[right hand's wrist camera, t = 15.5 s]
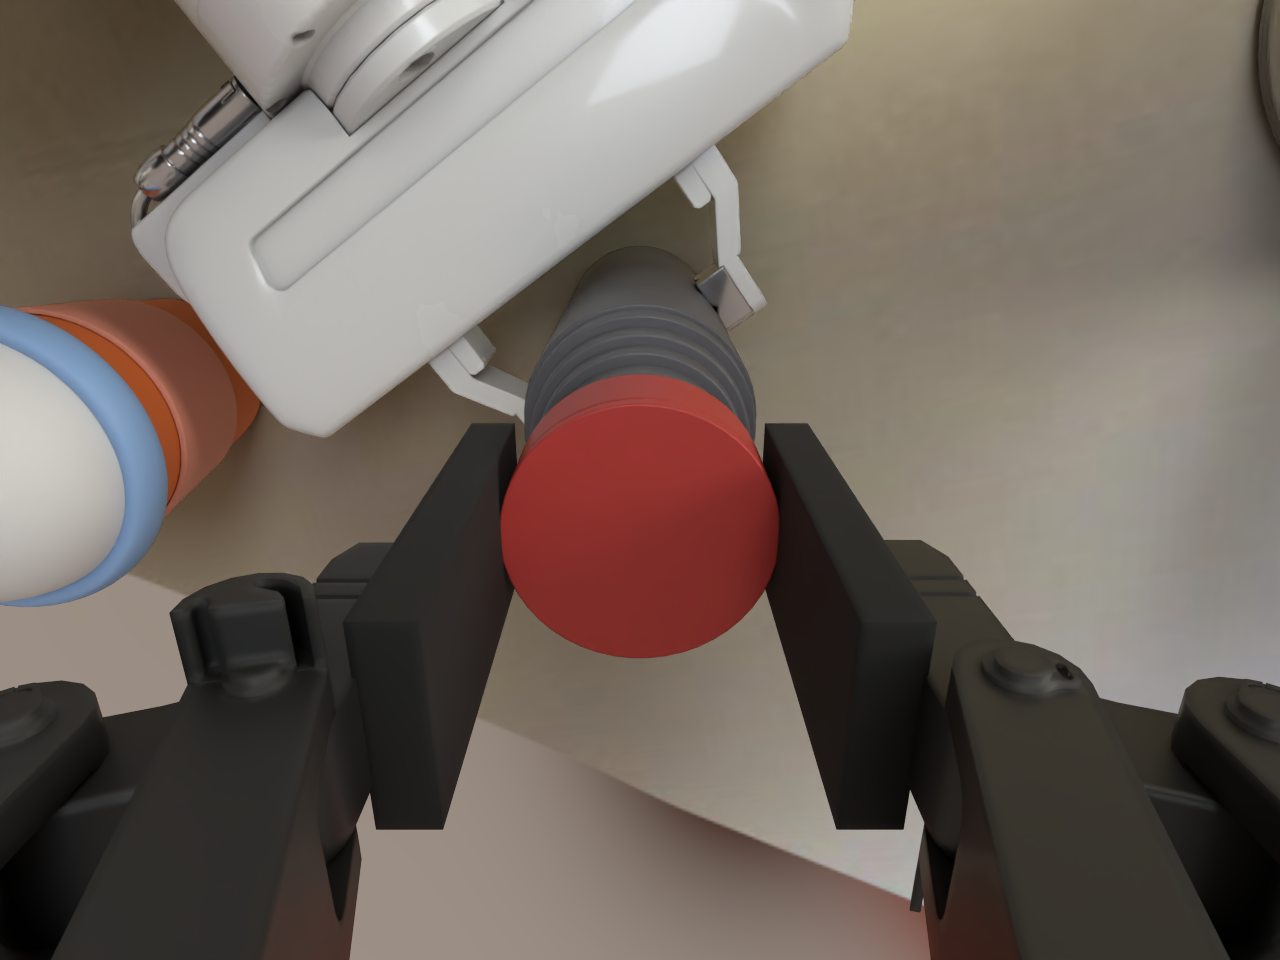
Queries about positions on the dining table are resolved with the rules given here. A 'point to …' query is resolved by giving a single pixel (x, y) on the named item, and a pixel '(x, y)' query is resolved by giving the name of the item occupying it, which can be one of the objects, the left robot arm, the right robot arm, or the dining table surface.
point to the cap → (640, 518)
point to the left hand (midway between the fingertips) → (657, 377)
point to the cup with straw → (103, 437)
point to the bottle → (639, 335)
